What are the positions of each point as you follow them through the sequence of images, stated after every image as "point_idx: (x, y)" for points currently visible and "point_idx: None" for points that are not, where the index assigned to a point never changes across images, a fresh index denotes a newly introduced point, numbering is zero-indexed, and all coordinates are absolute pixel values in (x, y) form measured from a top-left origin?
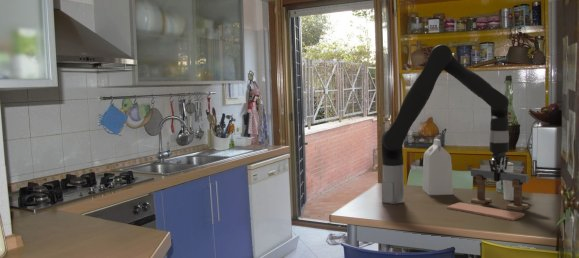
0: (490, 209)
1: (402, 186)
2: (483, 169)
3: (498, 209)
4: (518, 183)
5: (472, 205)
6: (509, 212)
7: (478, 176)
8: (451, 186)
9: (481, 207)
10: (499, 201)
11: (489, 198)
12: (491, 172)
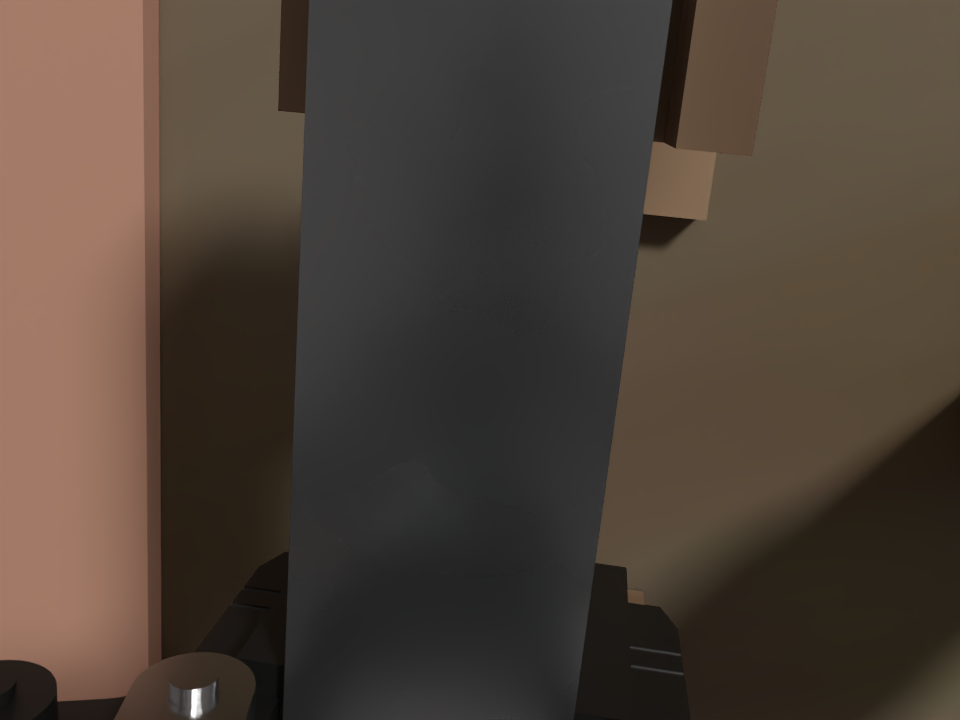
0: (49, 435)
1: None
2: (627, 59)
3: (124, 525)
4: None
5: (87, 113)
6: (74, 681)
7: (295, 7)
8: None
9: (67, 285)
10: (781, 328)
11: (710, 179)
12: (298, 541)
